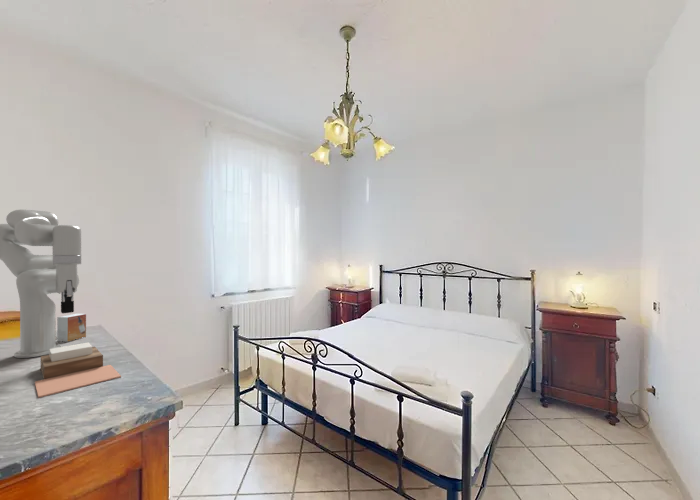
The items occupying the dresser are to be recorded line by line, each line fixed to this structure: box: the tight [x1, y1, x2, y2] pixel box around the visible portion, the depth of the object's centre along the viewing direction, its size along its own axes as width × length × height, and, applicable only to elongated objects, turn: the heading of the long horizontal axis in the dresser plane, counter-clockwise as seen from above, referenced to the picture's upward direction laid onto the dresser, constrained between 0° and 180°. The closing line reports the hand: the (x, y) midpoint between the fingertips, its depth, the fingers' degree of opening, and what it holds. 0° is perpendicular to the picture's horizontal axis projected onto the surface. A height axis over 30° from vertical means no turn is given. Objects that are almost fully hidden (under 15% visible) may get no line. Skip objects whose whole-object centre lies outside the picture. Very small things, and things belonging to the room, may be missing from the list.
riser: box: [40, 346, 104, 380], centre depth 104 cm, size 14×14×4 cm
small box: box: [56, 313, 87, 343], centre depth 137 cm, size 8×6×10 cm
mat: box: [34, 364, 122, 399], centre depth 94 cm, size 14×18×1 cm
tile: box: [48, 341, 93, 362], centre depth 104 cm, size 7×10×2 cm
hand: (67, 312), depth 110 cm, fingers closed
